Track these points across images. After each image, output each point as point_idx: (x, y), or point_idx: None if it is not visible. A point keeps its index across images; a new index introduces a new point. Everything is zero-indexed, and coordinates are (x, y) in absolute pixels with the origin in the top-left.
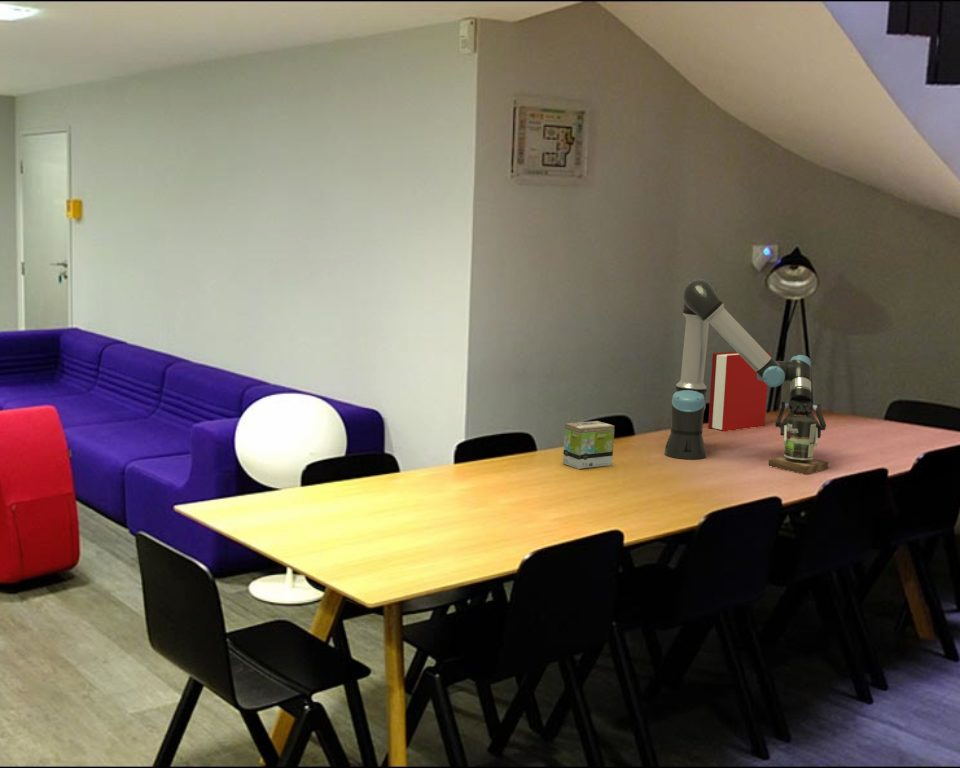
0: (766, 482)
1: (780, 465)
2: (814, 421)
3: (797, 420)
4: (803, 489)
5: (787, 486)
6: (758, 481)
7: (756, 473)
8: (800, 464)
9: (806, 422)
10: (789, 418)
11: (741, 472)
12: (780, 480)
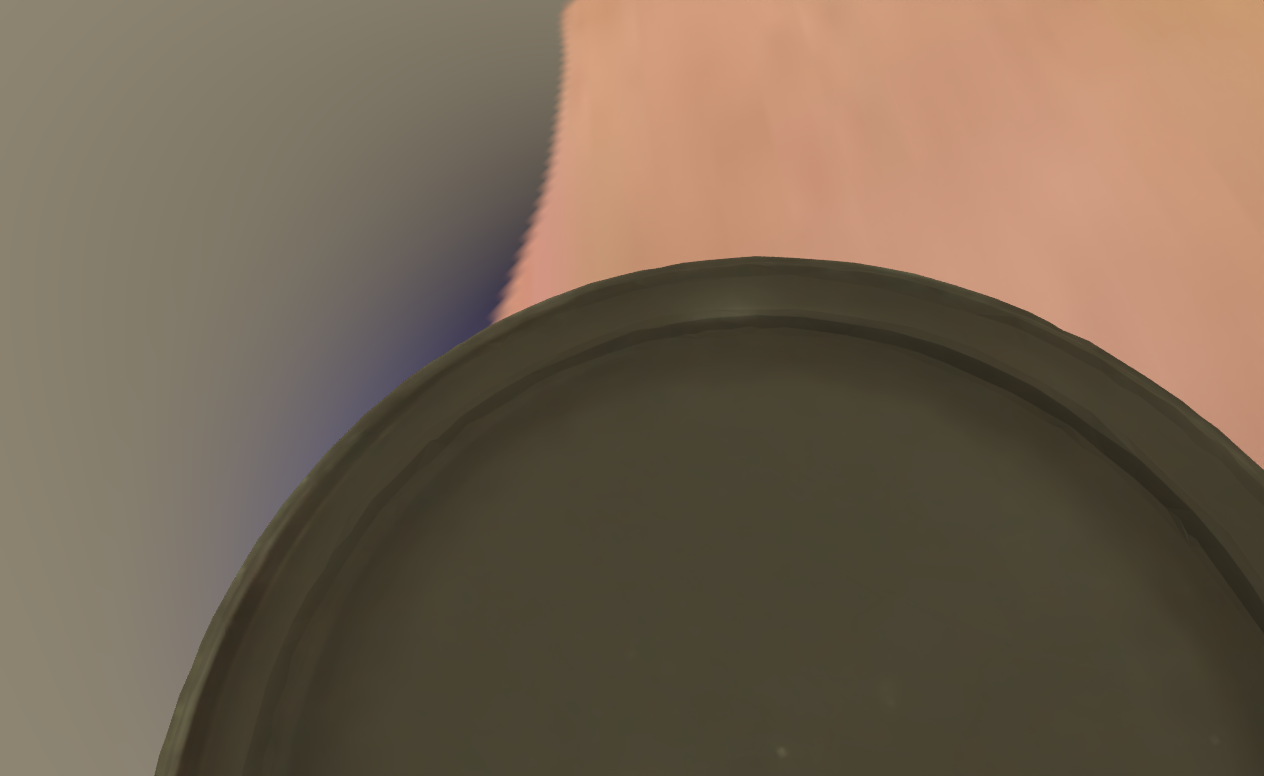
0: (898, 99)
1: None
2: (296, 491)
3: (834, 295)
4: (615, 62)
5: (729, 76)
6: (963, 96)
7: (1089, 317)
8: None
9: (556, 310)
10: (1207, 487)
11: (1233, 286)
12: (813, 196)
